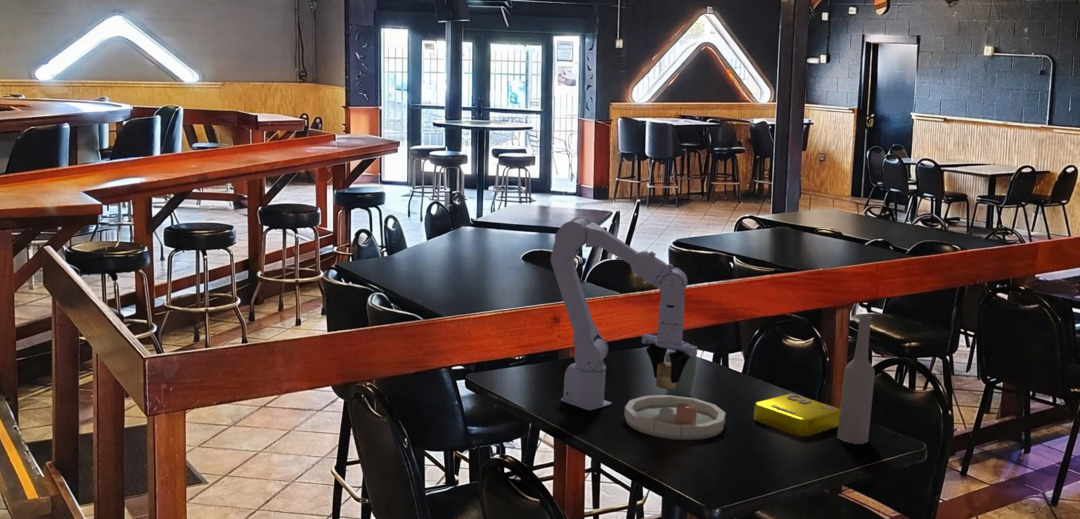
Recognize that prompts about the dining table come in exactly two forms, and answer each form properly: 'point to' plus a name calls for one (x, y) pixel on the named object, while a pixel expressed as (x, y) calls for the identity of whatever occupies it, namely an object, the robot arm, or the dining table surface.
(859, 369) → the bottle
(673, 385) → the maple bead
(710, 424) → the groove tray
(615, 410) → the dining table surface
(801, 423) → the element tile
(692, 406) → the terracotta bead
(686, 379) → the cup
